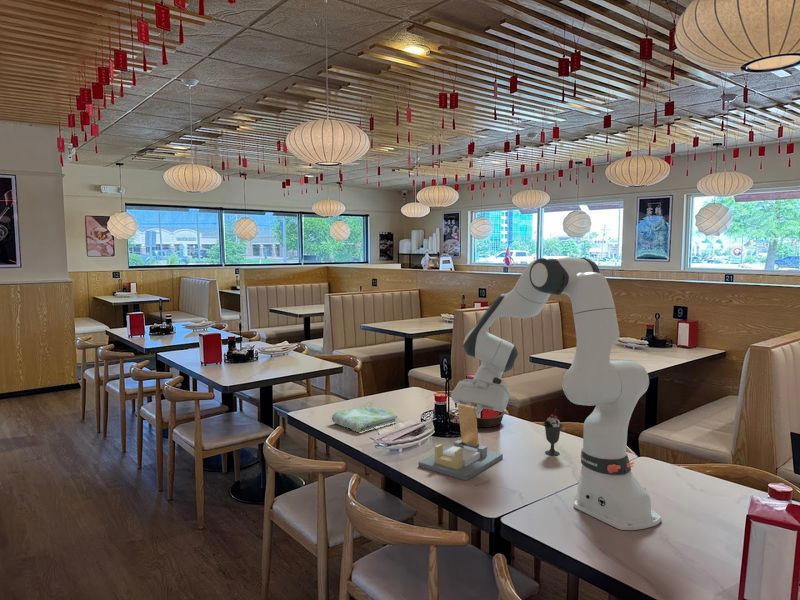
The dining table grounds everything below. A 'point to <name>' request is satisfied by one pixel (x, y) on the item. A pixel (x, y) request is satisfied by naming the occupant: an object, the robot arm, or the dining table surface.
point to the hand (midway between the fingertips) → (470, 416)
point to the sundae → (552, 433)
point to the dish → (490, 421)
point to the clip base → (460, 460)
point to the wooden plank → (468, 426)
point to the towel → (363, 418)
